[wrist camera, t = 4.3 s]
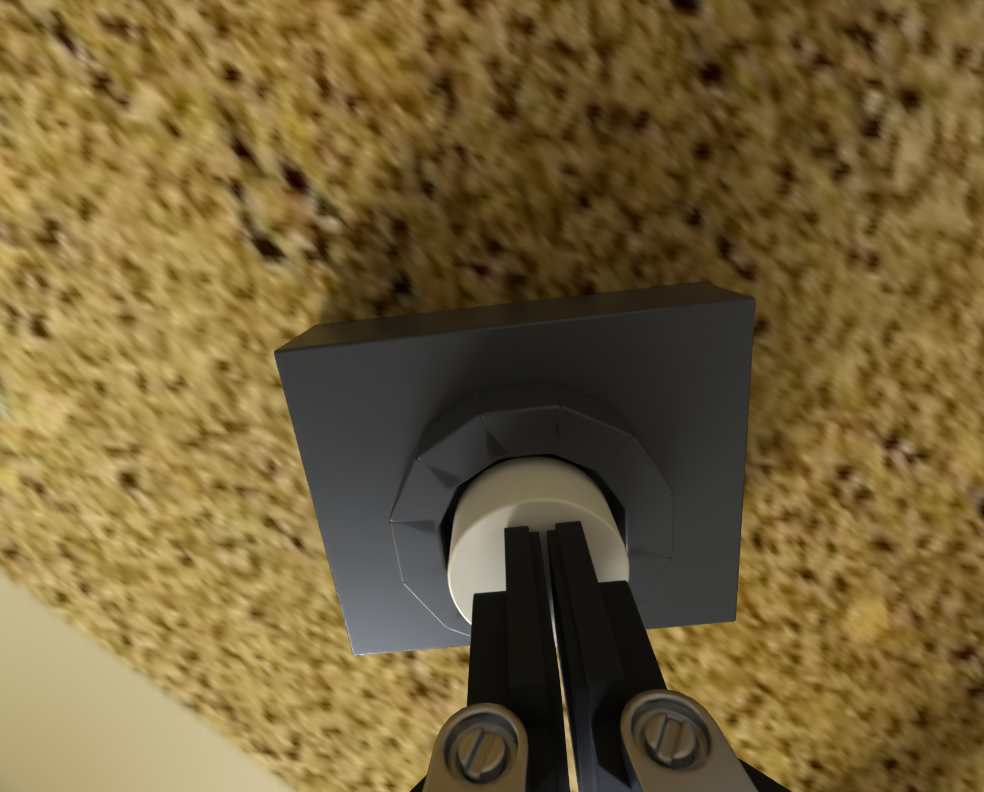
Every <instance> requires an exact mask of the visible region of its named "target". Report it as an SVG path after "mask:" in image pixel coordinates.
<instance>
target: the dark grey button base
mask: <svg viewBox="0 0 984 792" xmlns="http://www.w3.org/2000/svg"><path fill="white" fill-rule="evenodd" d="M754 313H755V299H754V298H753V297H750V296H747V295H744V294H740V293H737V292H734V291H731V290H728V289H725V288H721V287H718V286H715V285H712V284H709V283H706V282H695V283H686V284H678V285H669V286H660V287H651V288H642V289H633V290H624V291H615V292H606V293H597V294H588V295H580V296H571V297H562V298H553V299H544V300H535V301H526V302H517V303H508V304H499V305H490V306H482V307H473V308H464V309H455V310H446V311H437V312H428V313H419V314H410V315H401V316H392V317H384V318H375V319H366V320H357V321H348V322H339V323H330V324H321V325H315V326H313V327H312V328H310V329H308V330H307V331H305V332H304V333H302V334H301V335H299V336H297V337H296V338H294V339H293V340H291V341H289V342H288V343H286V344H285V345H283V346H282V347H280V348H278V349H277V350H275V351H274V355H275V359H276V363H277V367H278V371H279V375H280V378H281V382H282V386H283V390H284V394H285V397H286V401H287V405H288V409H289V413H290V416H291V420H292V424H293V428H294V432H295V435H296V439H297V443H298V447H299V451H300V454H301V458H302V462H303V466H304V470H305V474H306V477H307V481H308V485H309V489H310V493H311V496H312V500H313V504H314V508H315V512H316V515H317V519H318V523H319V527H320V531H321V534H322V538H323V542H324V546H325V550H326V553H327V557H328V561H329V565H330V569H331V573H332V576H333V580H334V584H335V588H336V592H337V595H338V599H339V603H340V607H341V611H342V614H343V618H344V622H345V626H346V630H347V633H348V637H349V641H350V645H351V649H352V652H353V655H355V656H356V655H367V654H379V653H390V652H401V651H412V650H423V649H434V648H445V647H456V646H468V645H470V641H471V624H470V623H469V622H467V621H466V619H465V618H464V617H463V616H462V614H461V613H460V612H459V610H458V608H457V607H456V605H455V603H454V601H453V598H452V596H451V593H450V589H449V585H448V563H449V555H450V546H451V538H452V529H453V521H454V515H455V510H456V507H457V504H458V502H459V499H460V498H461V496H462V494H463V492H464V491H465V489H466V488H467V487H468V486H469V484H470V483H471V482H472V481H473V480H474V479H475V478H476V477H477V476H479V475H480V474H481V473H483V472H484V471H485V470H487V469H489V468H491V467H492V466H494V465H496V464H499V463H501V462H503V461H506V460H510V459H513V458H519V457H526V456H540V457H549V458H554V459H558V460H561V461H564V462H567V463H569V464H571V465H573V466H575V467H577V468H578V469H580V470H582V471H583V472H585V473H586V474H587V475H588V476H589V477H590V478H592V480H593V481H594V482H595V483H596V484H597V485H598V487H599V488H600V490H601V491H602V493H603V495H604V497H605V499H606V501H607V504H608V506H609V509H610V511H611V514H612V516H613V518H614V521H615V523H616V526H617V528H618V531H619V533H620V536H621V538H622V541H623V543H624V545H625V548H626V551H627V555H628V559H629V580H628V584H629V587H630V589H631V592H632V594H633V597H634V600H635V603H636V605H637V608H638V611H639V614H640V616H641V619H642V622H643V625H644V627H645V629H657V628H668V627H679V626H690V625H701V624H712V623H723V622H734V621H735V620H736V606H737V590H738V574H739V557H740V541H741V525H742V509H743V492H744V476H745V460H746V443H747V427H748V411H749V395H750V378H751V362H752V346H753V329H754Z"/></svg>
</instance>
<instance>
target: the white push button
mask: <svg viewBox="0 0 984 792" xmlns="http://www.w3.org/2000/svg"><path fill="white" fill-rule="evenodd" d="M573 521H581V524H582V527H583V531H584V534H585V538H586V541H587V545H588V548H589V552H590V555H591V559H592V562H593V566H594V569H595V573H596V576H597V580H598V582H609V581H620V580H626V581H627V582H628V580H629V559H628V555H627V551H626V548H625V545H624V543H623V541H622V538H621V536H620V533H619V531H618V528H617V526H616V523H615V521H614V518H613V516H612V514H611V511H610V509H609V506H608V504H607V501H606V499H605V497H604V495H603V493H602V491H601V490H600V488H599V487H598V485H597V484H596V483H595V482H594V481H593V480H592V478H590V477H589V476H588V475H587V474H586V473H585V472H583V471H582V470H580V469H578V468H577V467H575V466H573V465H571V464H569V463H567V462H564V461H561V460H558V459H554V458H549V457H540V456H526V457H519V458H513V459H510V460H506V461H503V462H501V463H499V464H496V465H494V466H492V467H491V468H489V469H487V470H485V471H484V472H483V473H481V474H480V475H479V476H477V477H476V478H475V479H474V480H473V481H472V482H471V483H470V484H469V486H468V487H467V488H466V489H465V491H464V492H463V494H462V496H461V498H460V499H459V502H458V504H457V507H456V510H455V515H454V521H453V529H452V538H451V546H450V555H449V563H448V585H449V589H450V593H451V596H452V598H453V601H454V603H455V605H456V607H457V608H458V610H459V612H460V613H461V614H462V616H463V617H464V618H465V619H466V621H467V622H469V623H470V624H471V623H472V605H473V595H474V593H485V592H496V591H506V574H505V544H504V528H508V527H519V526H528V527H529V532H538V531H539V536H540V543H541V550H542V557H543V564H544V571H545V578H546V585H547V592H548V599H549V606H550V613H551V620H552V627H553V634H554V641H555V646H557V640H556V631H555V621H554V610H553V598H552V587H551V576H550V564H549V553H548V542H547V531H549V530H556V523H562V522H573Z"/></svg>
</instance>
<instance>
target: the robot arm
mask: <svg viewBox="0 0 984 792" xmlns="http://www.w3.org/2000/svg"><path fill="white" fill-rule="evenodd" d="M547 542H548V553H549V564H550V576H551V587H552V598H553V610H554V621H555V631H556V640H557V647H558V654H559V661H560V668H561V674H562V681H563V688H564V695H565V701H566V708H567V715H568V722H569V729H570V735H571V742H572V749H573V756H574V763H575V769H576V776H577V783H578V790H579V792H791V791H790V790H788V789H786V788H785V787H783V786H782V785H780V784H779V783H777V782H775V781H774V780H772V779H771V778H769V777H767V776H766V775H764V774H763V773H761V772H760V771H758V770H756V769H755V768H753V767H752V766H750V765H749V764H747V763H745V762H744V761H742V760H741V759H739V758H738V757H737V756H736V754H735V753H734V751H733V749H732V748H731V746H730V745H729V743H728V741H727V740H726V738H725V736H724V735H723V733H722V731H721V730H720V728H719V726H718V725H717V723H716V722H715V720H714V719H713V718H712V716H711V715H710V714H709V713H708V711H707V710H706V709H705V708H704V707H703V706H702V705H700V704H699V703H698V702H696V701H695V700H694V699H693V698H691V697H688V696H686V695H684V694H682V693H680V692H677V691H672V690H667V687H666V685H665V682H664V679H663V677H662V674H661V671H660V668H659V666H658V663H657V660H656V657H655V655H654V652H653V649H652V646H651V644H650V641H649V638H648V635H647V633H646V630H645V627H644V625H643V622H642V619H641V616H640V614H639V611H638V608H637V605H636V603H635V600H634V597H633V594H632V592H631V589H630V587H629V584H628V582H627V581H626V580H620V581H609V582H598V580H597V576H596V573H595V569H594V566H593V562H592V559H591V555H590V552H589V548H588V545H587V541H586V538H585V534H584V531H583V527H582V524H581V521H573V522H562V523H556V530H549V531H547ZM504 544H505V574H506V591H496V592H485V593H474V595H473V605H472V623H471V641H470V660H469V678H468V696H467V707H465V708H462V709H461V710H459V711H458V712H456V713H455V714H454V715H452V716H451V717H450V718H449V719H448V720H447V722H446V723H445V724H444V725H443V727H442V728H441V730H440V732H439V734H438V737H437V739H436V742H435V745H434V749H433V753H432V757H431V760H430V764H429V768H428V772H427V775H426V776H425V777H424V778H423V779H422V780H421V781H420V782H419V783H418V784H417V785H416V786H415V787H414V788H413V789H412V790H411V791H410V792H570V786H569V775H568V764H567V752H566V741H565V730H564V718H563V707H562V696H561V686H560V677H559V669H558V662H557V655H556V648H555V641H554V634H553V627H552V620H551V613H550V606H549V599H548V592H547V585H546V578H545V571H544V564H543V557H542V550H541V543H540V536H539V531H538V532H529V527H528V526H519V527H508V528H504Z"/></svg>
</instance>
